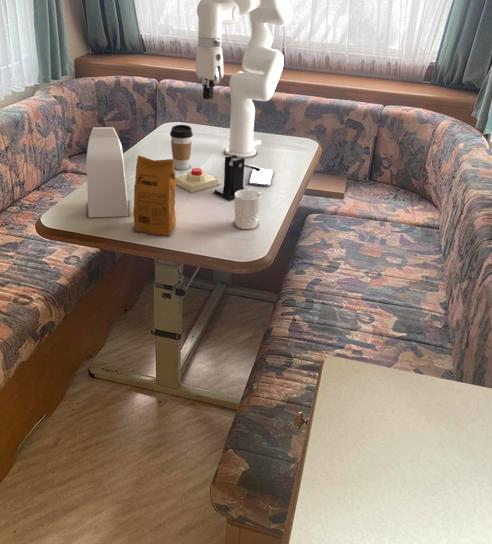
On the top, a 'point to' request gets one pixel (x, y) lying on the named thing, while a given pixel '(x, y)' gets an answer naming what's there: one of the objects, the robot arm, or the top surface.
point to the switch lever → (245, 165)
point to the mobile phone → (261, 177)
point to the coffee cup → (181, 146)
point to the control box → (196, 181)
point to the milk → (106, 174)
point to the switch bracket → (232, 178)
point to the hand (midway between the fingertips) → (208, 98)
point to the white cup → (247, 208)
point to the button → (196, 171)
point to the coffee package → (154, 196)
